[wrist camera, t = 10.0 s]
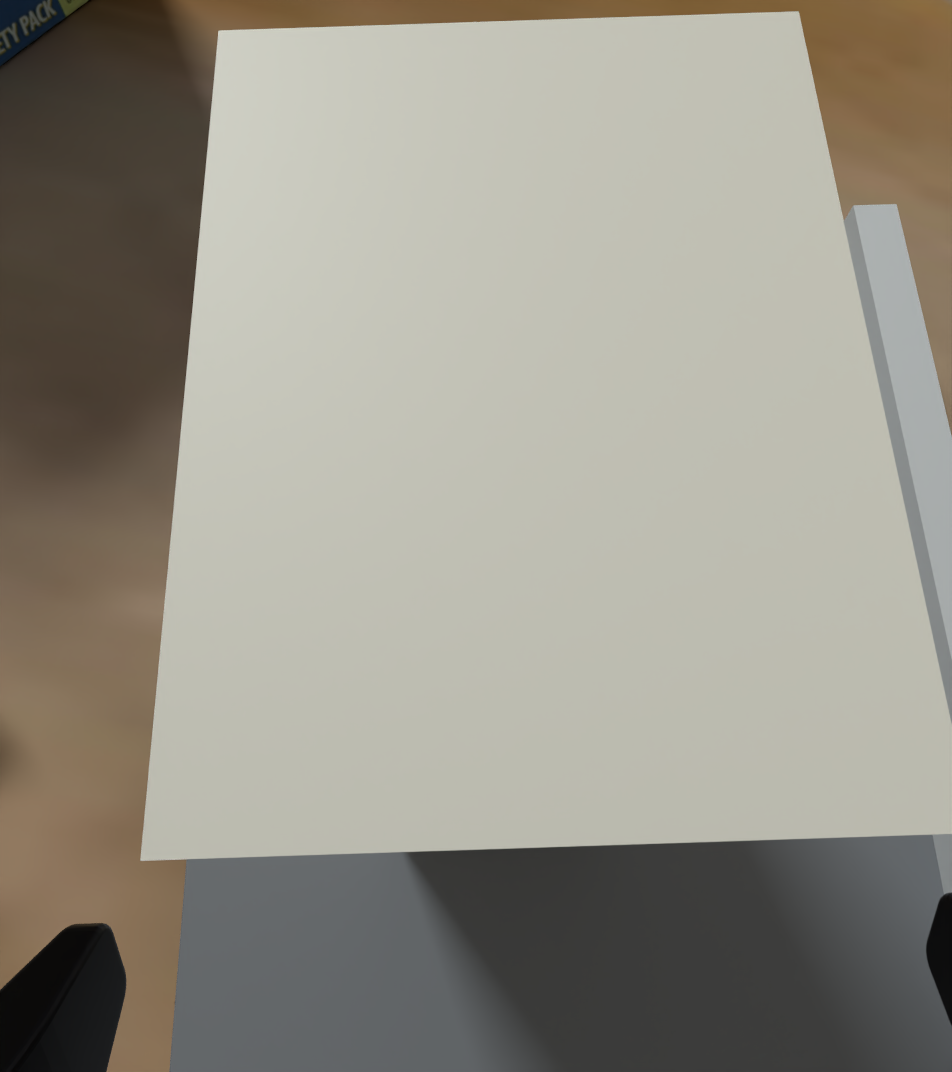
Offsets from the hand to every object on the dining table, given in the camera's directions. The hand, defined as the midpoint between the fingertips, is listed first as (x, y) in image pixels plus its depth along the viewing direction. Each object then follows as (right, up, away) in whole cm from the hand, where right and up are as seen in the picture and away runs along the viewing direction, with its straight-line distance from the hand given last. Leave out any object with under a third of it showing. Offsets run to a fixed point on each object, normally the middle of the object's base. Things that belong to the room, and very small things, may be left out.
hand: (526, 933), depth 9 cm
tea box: (0, +1, +9) cm, 9 cm away
